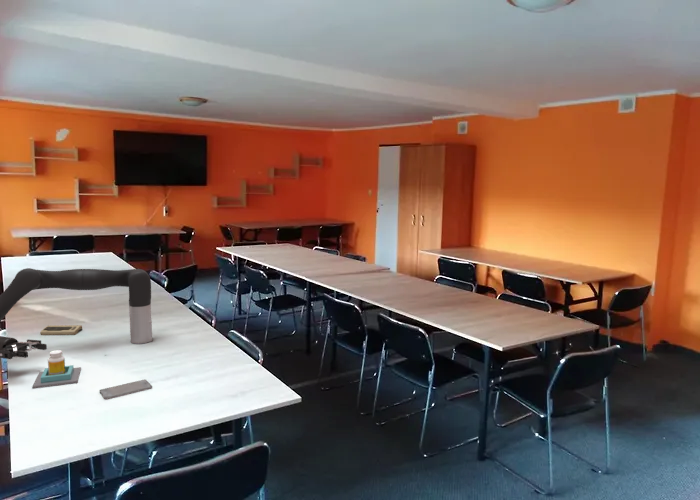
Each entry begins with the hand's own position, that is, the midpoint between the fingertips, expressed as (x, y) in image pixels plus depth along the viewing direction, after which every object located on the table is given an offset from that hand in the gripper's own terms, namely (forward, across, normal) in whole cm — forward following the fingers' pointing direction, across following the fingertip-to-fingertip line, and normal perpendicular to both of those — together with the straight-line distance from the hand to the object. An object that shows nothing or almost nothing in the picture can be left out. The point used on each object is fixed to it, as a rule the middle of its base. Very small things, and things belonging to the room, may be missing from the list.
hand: (36, 350), depth 184 cm
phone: (+39, -2, +11) cm, 41 cm away
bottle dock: (+8, 0, +10) cm, 13 cm away
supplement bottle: (+8, 0, +9) cm, 12 cm away
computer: (-31, +46, +11) cm, 56 cm away
